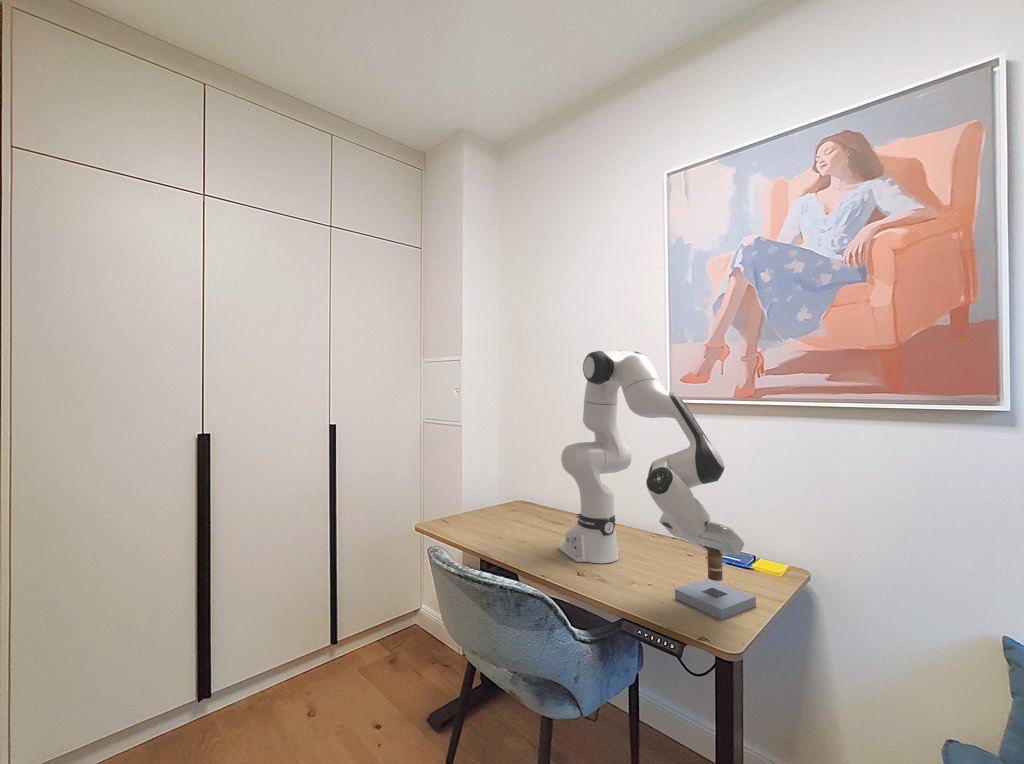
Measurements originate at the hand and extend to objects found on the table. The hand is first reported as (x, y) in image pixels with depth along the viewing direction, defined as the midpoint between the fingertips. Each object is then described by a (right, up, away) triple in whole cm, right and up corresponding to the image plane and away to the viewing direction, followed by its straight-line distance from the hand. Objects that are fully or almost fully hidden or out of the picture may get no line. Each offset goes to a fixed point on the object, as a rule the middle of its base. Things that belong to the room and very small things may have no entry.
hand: (716, 551), depth 122 cm
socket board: (-1, -13, 0) cm, 13 cm away
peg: (-1, -7, -1) cm, 7 cm away
